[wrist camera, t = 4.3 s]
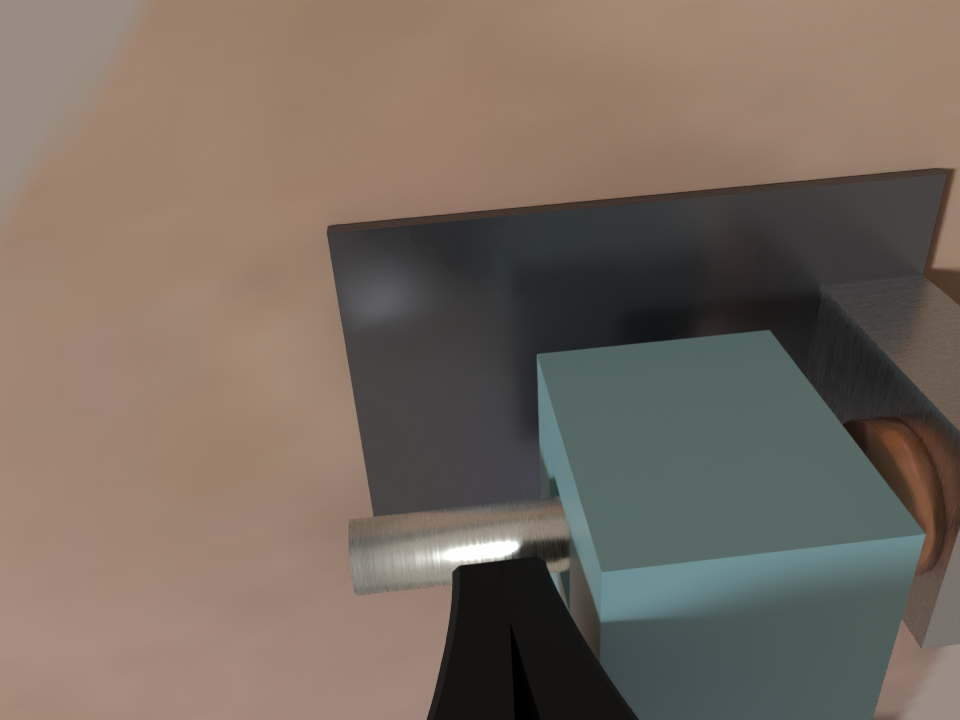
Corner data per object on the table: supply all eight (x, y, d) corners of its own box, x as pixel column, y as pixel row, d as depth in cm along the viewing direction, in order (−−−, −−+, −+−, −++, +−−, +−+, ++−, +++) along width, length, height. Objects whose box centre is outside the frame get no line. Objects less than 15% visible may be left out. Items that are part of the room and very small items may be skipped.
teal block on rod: (742, 522, 17) (863, 752, 13) (542, 545, 17) (597, 787, 13) (769, 330, 15) (926, 534, 11) (536, 354, 15) (601, 572, 10)
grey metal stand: (860, 503, 20) (1006, 710, 15) (382, 558, 19) (383, 791, 15) (937, 168, 16) (1171, 315, 11) (327, 226, 15) (306, 407, 11)
